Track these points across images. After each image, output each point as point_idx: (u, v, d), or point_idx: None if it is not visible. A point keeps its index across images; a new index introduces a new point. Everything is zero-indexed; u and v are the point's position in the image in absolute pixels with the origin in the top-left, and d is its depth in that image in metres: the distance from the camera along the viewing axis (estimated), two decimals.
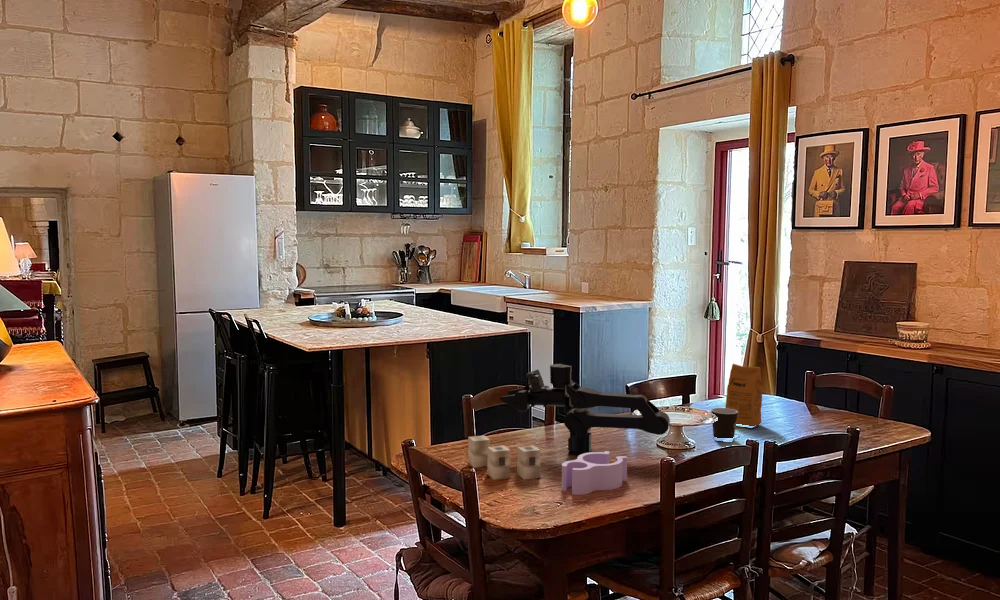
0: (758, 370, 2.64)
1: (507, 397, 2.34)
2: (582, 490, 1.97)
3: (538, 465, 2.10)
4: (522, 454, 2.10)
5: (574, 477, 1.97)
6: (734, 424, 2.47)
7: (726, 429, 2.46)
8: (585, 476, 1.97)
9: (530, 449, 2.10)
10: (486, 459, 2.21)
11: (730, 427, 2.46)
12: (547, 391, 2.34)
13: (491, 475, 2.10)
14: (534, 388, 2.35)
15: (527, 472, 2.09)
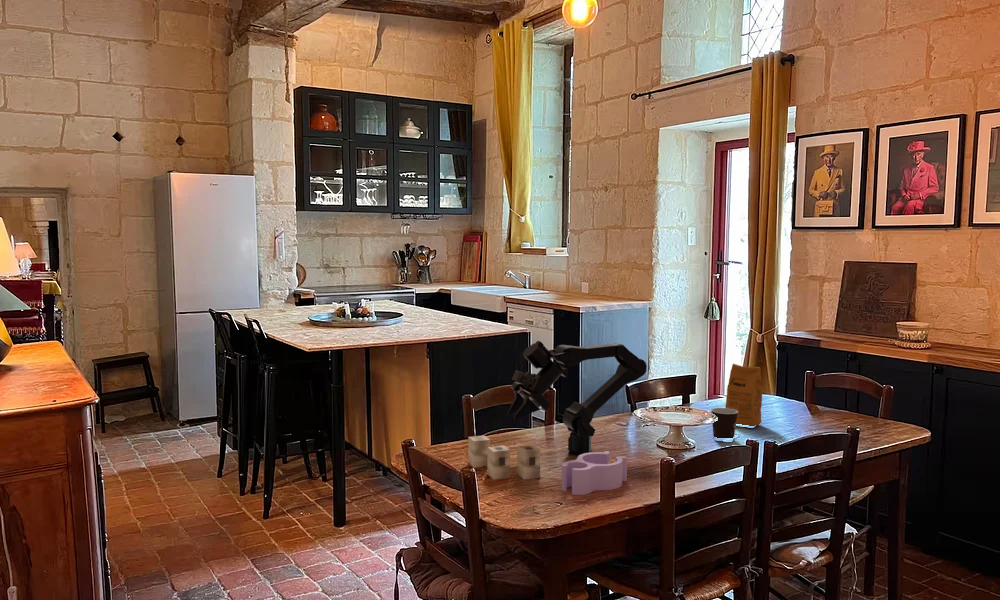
0: (758, 370, 2.64)
1: (521, 410, 2.22)
2: (582, 491, 1.97)
3: (538, 465, 2.10)
4: (522, 454, 2.10)
5: (574, 477, 1.97)
6: (734, 424, 2.47)
7: (726, 429, 2.46)
8: (585, 476, 1.97)
9: (530, 449, 2.10)
10: (486, 459, 2.21)
11: (730, 427, 2.46)
12: (542, 376, 2.26)
13: (491, 475, 2.10)
14: (532, 384, 2.24)
15: (527, 472, 2.09)
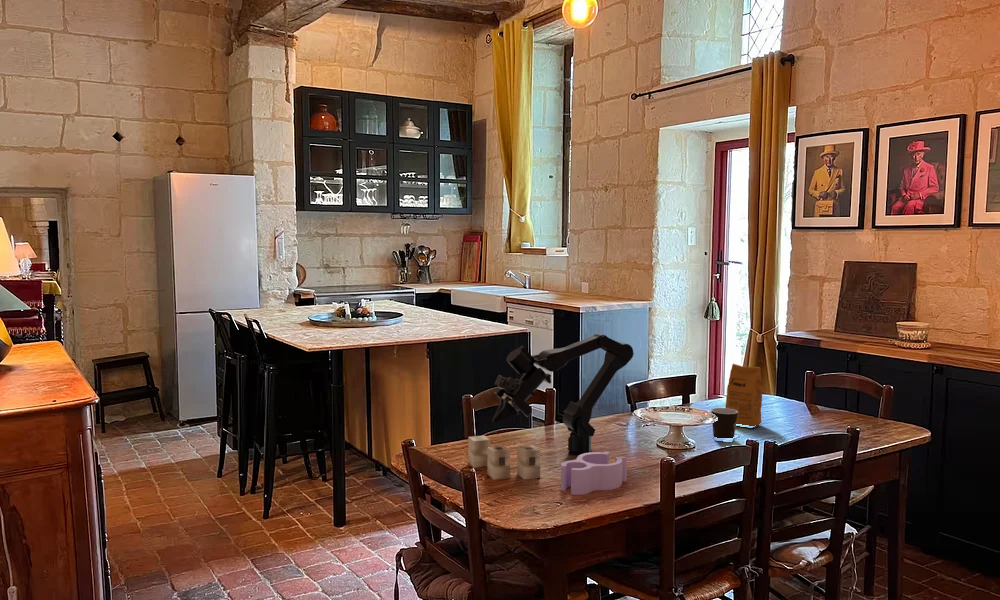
0: (758, 370, 2.64)
1: (500, 414, 2.22)
2: (581, 491, 1.97)
3: (538, 465, 2.10)
4: (522, 454, 2.10)
5: (573, 477, 1.97)
6: (734, 424, 2.47)
7: (726, 429, 2.46)
8: (584, 476, 1.97)
9: (530, 449, 2.10)
10: (486, 459, 2.21)
11: (730, 427, 2.46)
12: (524, 382, 2.24)
13: (491, 475, 2.10)
14: (514, 389, 2.22)
15: (527, 472, 2.09)
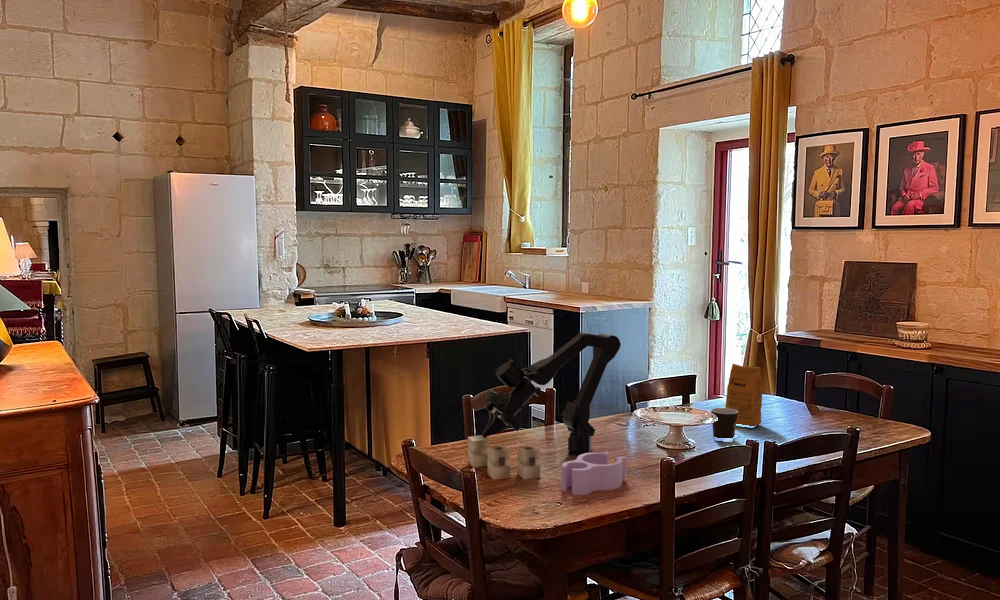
0: (758, 370, 2.64)
1: (489, 428, 2.22)
2: (582, 491, 1.97)
3: (538, 465, 2.10)
4: (522, 454, 2.10)
5: (574, 478, 1.97)
6: (734, 424, 2.47)
7: (726, 429, 2.46)
8: (585, 476, 1.97)
9: (530, 449, 2.10)
10: (486, 459, 2.21)
11: (730, 427, 2.46)
12: (514, 396, 2.23)
13: (491, 475, 2.10)
14: (504, 404, 2.21)
15: (527, 472, 2.09)
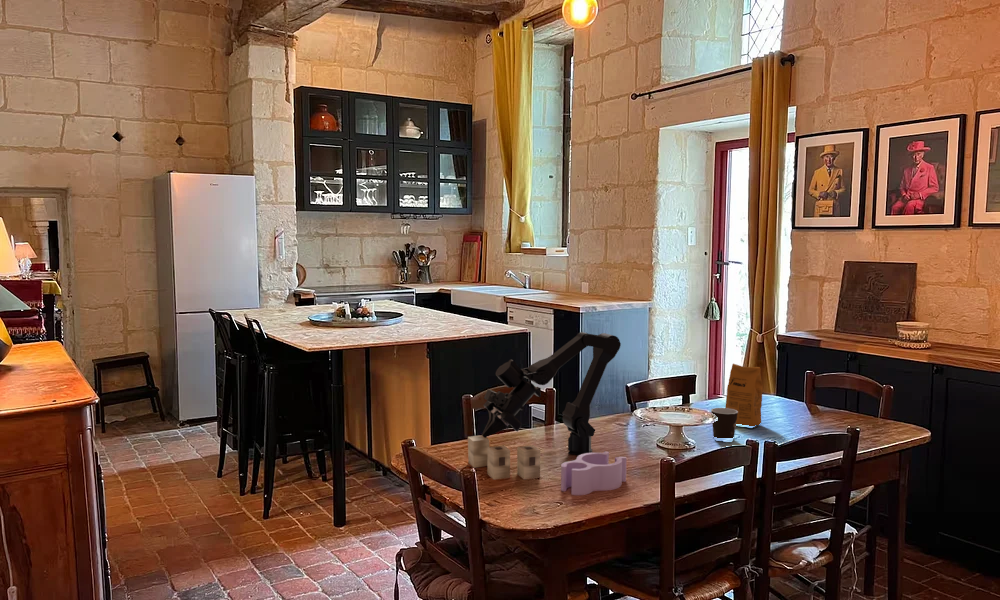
0: (758, 370, 2.64)
1: (489, 428, 2.22)
2: (581, 491, 1.97)
3: (538, 465, 2.10)
4: (522, 454, 2.10)
5: (573, 478, 1.96)
6: (734, 424, 2.47)
7: (726, 429, 2.46)
8: (585, 477, 1.97)
9: (530, 449, 2.10)
10: (486, 459, 2.21)
11: (730, 427, 2.46)
12: (514, 395, 2.23)
13: (491, 475, 2.10)
14: (504, 404, 2.21)
15: (527, 472, 2.09)
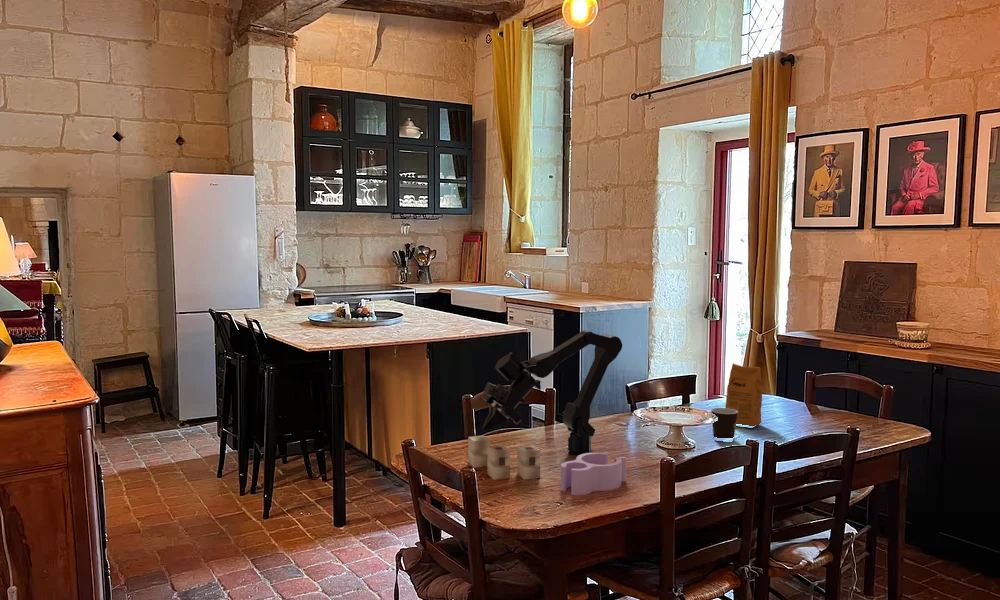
0: (758, 370, 2.64)
1: (489, 421, 2.21)
2: (581, 491, 1.97)
3: (538, 465, 2.10)
4: (522, 454, 2.10)
5: (573, 478, 1.96)
6: (734, 424, 2.47)
7: (726, 429, 2.46)
8: (584, 477, 1.97)
9: (530, 449, 2.10)
10: (486, 459, 2.21)
11: (730, 427, 2.46)
12: (514, 388, 2.23)
13: (491, 475, 2.10)
14: (504, 397, 2.21)
15: (527, 472, 2.09)
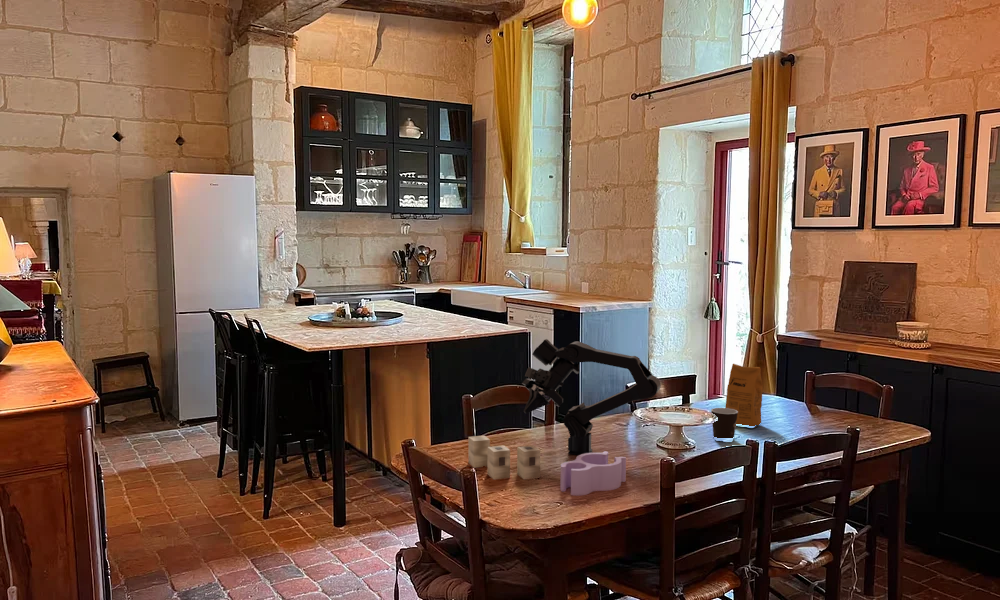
0: (758, 370, 2.64)
1: (531, 405, 2.30)
2: (580, 491, 1.97)
3: (538, 465, 2.10)
4: (522, 454, 2.10)
5: (573, 478, 1.96)
6: (734, 424, 2.47)
7: (726, 429, 2.46)
8: (584, 477, 1.97)
9: (530, 449, 2.10)
10: (486, 459, 2.21)
11: (730, 427, 2.46)
12: (554, 373, 2.32)
13: (491, 475, 2.10)
14: (545, 381, 2.29)
15: (527, 472, 2.09)
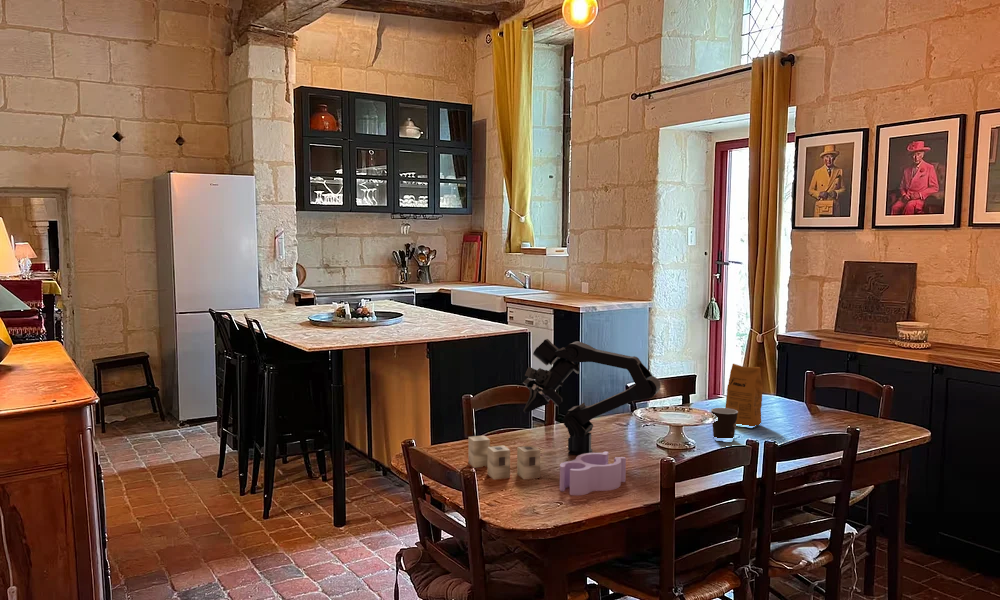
0: (758, 370, 2.64)
1: (531, 404, 2.31)
2: (579, 491, 1.97)
3: (538, 465, 2.10)
4: (522, 454, 2.10)
5: (571, 478, 1.96)
6: (734, 424, 2.47)
7: (726, 429, 2.46)
8: (583, 477, 1.97)
9: (530, 449, 2.10)
10: (486, 459, 2.21)
11: (730, 427, 2.46)
12: (554, 372, 2.32)
13: (491, 475, 2.10)
14: (545, 380, 2.30)
15: (527, 472, 2.09)
